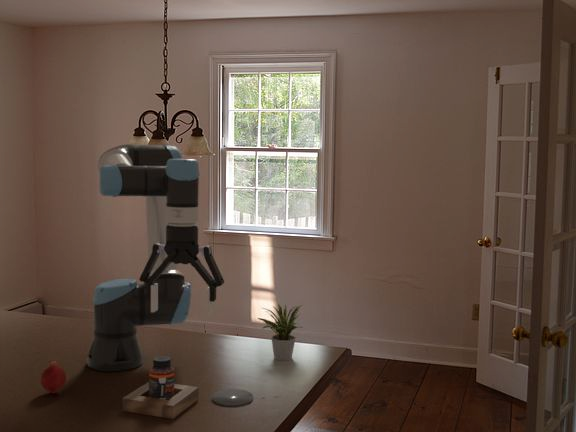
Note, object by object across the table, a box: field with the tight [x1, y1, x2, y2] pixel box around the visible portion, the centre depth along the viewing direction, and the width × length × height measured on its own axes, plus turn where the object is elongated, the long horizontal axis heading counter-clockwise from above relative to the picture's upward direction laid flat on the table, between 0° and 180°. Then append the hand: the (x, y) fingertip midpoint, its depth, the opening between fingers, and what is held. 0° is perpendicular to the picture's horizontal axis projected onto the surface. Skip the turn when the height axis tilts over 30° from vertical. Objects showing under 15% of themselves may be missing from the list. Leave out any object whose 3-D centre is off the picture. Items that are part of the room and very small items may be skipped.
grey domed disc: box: [211, 388, 254, 407], centre depth 166 cm, size 10×10×1 cm
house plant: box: [257, 303, 304, 362], centre depth 200 cm, size 14×14×16 cm
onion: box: [40, 361, 67, 394], centre depth 166 cm, size 6×6×8 cm
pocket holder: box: [122, 381, 199, 420], centre depth 161 cm, size 13×13×3 cm
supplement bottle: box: [148, 355, 176, 400], centre depth 160 cm, size 6×6×11 cm
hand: (181, 313), depth 162 cm, fingers open, 13 cm apart
